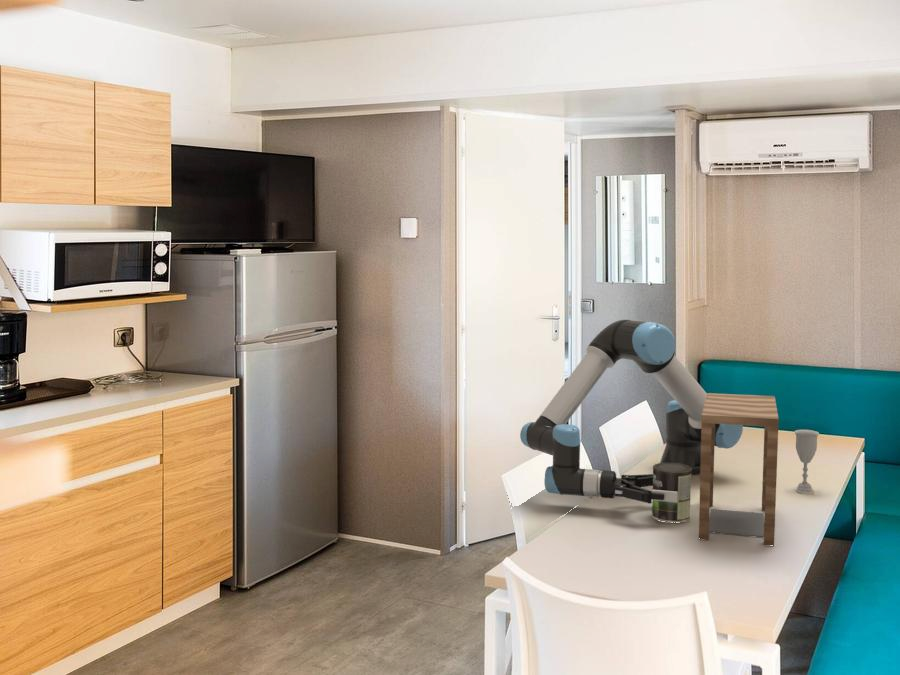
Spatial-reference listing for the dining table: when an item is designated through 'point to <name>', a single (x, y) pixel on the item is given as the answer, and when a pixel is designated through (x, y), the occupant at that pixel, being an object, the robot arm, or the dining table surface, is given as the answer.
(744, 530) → the mat
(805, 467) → the chalice
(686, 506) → the coffee can
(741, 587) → the dining table surface
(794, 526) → the dining table surface
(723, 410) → the wooden stool
